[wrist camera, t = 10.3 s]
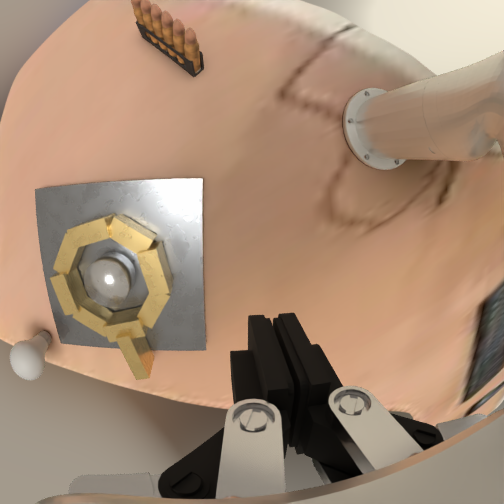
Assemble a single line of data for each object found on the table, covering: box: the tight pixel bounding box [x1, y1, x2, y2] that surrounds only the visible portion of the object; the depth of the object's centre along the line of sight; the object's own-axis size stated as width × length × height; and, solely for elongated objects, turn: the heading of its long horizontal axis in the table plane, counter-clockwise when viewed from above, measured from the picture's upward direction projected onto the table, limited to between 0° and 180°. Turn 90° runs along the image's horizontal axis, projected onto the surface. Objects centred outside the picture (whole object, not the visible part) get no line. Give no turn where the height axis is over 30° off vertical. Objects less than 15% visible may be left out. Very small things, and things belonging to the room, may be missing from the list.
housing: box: [35, 178, 206, 351], centre depth 34 cm, size 24×25×6 cm
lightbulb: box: [10, 331, 51, 380], centre depth 33 cm, size 6×6×11 cm
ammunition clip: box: [131, 0, 204, 77], centre depth 24 cm, size 11×2×12 cm, turn 46°
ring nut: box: [50, 213, 173, 380], centre depth 33 cm, size 21×15×5 cm
